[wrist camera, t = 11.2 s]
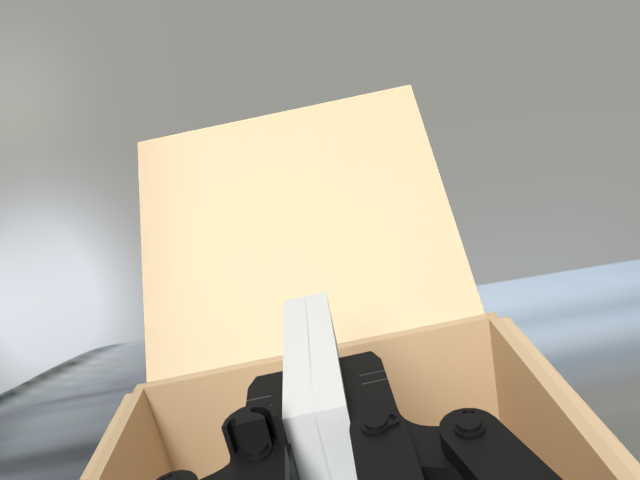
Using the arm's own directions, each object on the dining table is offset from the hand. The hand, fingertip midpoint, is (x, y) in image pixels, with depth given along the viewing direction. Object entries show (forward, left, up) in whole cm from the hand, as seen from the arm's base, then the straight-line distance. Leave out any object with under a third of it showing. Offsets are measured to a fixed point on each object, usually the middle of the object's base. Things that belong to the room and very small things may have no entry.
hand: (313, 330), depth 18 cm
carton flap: (-9, +14, 0) cm, 17 cm away
